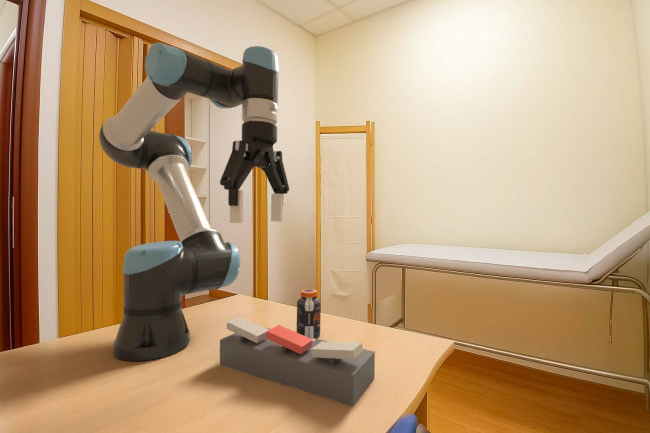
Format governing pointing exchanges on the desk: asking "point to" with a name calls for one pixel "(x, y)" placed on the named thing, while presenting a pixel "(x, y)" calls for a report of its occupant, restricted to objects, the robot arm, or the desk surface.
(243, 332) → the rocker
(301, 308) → the pill bottle
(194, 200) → the robot arm
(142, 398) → the desk surface
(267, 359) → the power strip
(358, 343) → the block
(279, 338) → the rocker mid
